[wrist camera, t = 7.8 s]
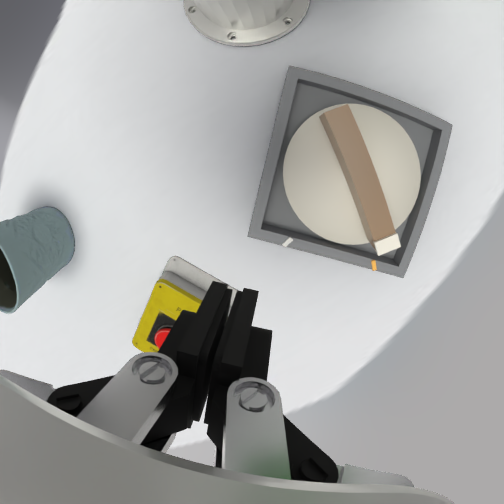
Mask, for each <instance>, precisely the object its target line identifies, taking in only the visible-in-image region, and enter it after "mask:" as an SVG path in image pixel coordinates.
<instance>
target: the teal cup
mask: <svg viewBox="0 0 504 504" xmlns="http://www.w3.org/2000/svg"><path fill="white" fill-rule="evenodd" d="M74 246H75V244H74V237H73V232H72V229H71V227H70V224H69V222H68V220H67V219H66V217H65V216H64V215H63V214H62V213H61V212H60V211H59V210H57V209H55V208H52V207H43V208H39V209H36V210H33V211H31V212H29V213H28V214H24V215H21V216H16V217H15V218H13V219H11V220H5V221H2V222H0V311H1V312H4V313H13V312H15V311H16V310H17V309H18V308H19V307H20V306H21V305H22V304H23V303H24V302H25V301H26V300H27V299H28V298H29V297H30V296H32V295H33V294H34V293H35V292H36V291H37V290H38V289H39V288H41V287H42V286H43V285H44V284H45V282H46V281H47V280H49V279H50V278H52V277H53V276H54V275H55V274H56V273H57V272H58V271H59V270H60V269H61V268H63V267H64V266H65V265H66V264H68V263H69V261H70V260H71V258H72V256H73V252H74Z"/></svg>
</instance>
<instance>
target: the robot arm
mask: <svg viewBox="0 0 504 504" xmlns="http://www.w3.org/2000/svg"><path fill="white" fill-rule="evenodd" d="M309 3H310V0H184V9H185V13H186V16H187V17H188V19H189V21H190V23H191V24H192V25H193V26H194V27H195V28H196V29H197V30H198V31H199V32H200V33H201V34H202V35H204V36H206V37H207V38H209V39H211V40H213V41H216V42H219V43H222V44H226V45H232V46H253V45H260V44H264V43H268V42H271V41H274V40H276V39H278V38H280V37H283V36H284V35H286V34H287V33H289V32H290V31H292V30H293V29H294V28H295V27H296V26H297V25H298V24H299V23H300V22H301V21H302V19H303V18H304V16H305V15H306V12H307V10H308V7H309ZM194 11H195V12H194ZM193 12H194V13H193ZM286 22H290V23H291V24H285V23H286ZM232 37H236V38H235V39H234V40H231V38H232ZM232 292H233V289H229V288H228V284H225V283H221V282H216V281H212V283H211V285H210V287H209V289H208V291H207V293H206V295H205V297H204V299H203V300H202V302H201V304H200V306H199V308H198V310H197V312H196V313H195V312H191V311H187V310H182V312H181V313H180V315H179V316H178V318H177V320H176V321H175V323H174V325H173V327H172V328H171V330H170V332H169V333H168V335H167V337H166V339H165V340H164V342H163V344H162V345H161V347H160V349H159V351H158V352H144V353H140V354H138V355H135V356H134V357H133V358H131V359H130V360H129V361H128V362H127V363H126V364H125V365H124V367H123V368H122V369H121V370H120V371H119V372H118V373H117V374H116V375H114V376H109V377H105V378H101V379H96V380H92V381H87V382H82V383H77V384H72V385H67V386H63V387H60V388H58V389H54V388H53V385H51V384H47V383H44V382H41V381H37V380H34V379H31V378H28V377H25V376H22V375H19V374H16V373H13V372H10V371H7V370H0V504H454V503H453V502H452V501H451V500H449V499H448V498H447V497H445V496H443V495H440V494H438V493H435V492H431V491H428V490H424V489H419V488H415V487H414V485H413V484H412V482H411V481H410V480H409V479H408V478H406V477H405V476H402V475H398V474H392V473H386V472H380V471H375V470H370V469H365V468H361V467H356V466H351V465H348V464H345V465H344V466H339V465H336V464H335V463H334V461H333V460H332V459H331V458H330V457H329V456H328V455H326V454H325V453H324V452H323V451H322V450H321V449H320V448H319V447H317V446H316V445H315V444H314V443H313V442H312V441H311V440H310V439H308V438H307V437H306V436H305V435H304V434H303V433H302V432H301V431H300V430H299V429H298V428H297V427H296V426H295V425H293V423H291V422H290V421H289V420H288V419H287V418H286V417H285V416H284V415H283V410H282V403H281V397H280V394H279V392H278V390H277V389H276V388H275V387H274V386H273V385H272V384H270V383H269V382H267V374H268V365H269V357H270V348H271V339H272V330H267V329H262V328H258V327H253V326H251V325H252V321H253V316H254V311H255V307H256V302H257V297H258V292H259V291H256V290H251V289H247V288H244V289H243V292H242V291H238V290H237V292H236V295H235V298H234V301H233V304H232V307H231V310H230V313H229V308H230V303H231V297H232ZM228 314H229V316H228ZM207 396H208V398H207ZM206 399H207V405H206V412H205V418H204V423H206V424H208V430H207V435H208V436H209V438H210V439H211V440H212V441H213V443H214V444H215V445H216V447H215V457H214V467H213V466H208V465H204V464H200V463H196V462H193V461H189V460H185V459H182V458H178V457H175V456H172V455H169V454H165V453H166V452H167V450H168V449H169V447H170V445H171V444H172V442H173V440H174V439H175V436H176V432H179V431H182V430H185V429H187V428H191V425H192V422H193V420H194V421H198V422H199V420H200V418H201V414H202V411H203V408H204V405H205V402H206Z"/></svg>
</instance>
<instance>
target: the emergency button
mask: <svg viewBox="0 0 504 504" xmlns="http://www.w3.org/2000/svg"><path fill="white" fill-rule="evenodd" d="M212 281H216V282H221V283H224V282H222V281H220V280H219V279H217V278H215V277H213V276H212V275H210V274H208V273H206V272H204V271H203V270H201V269H199V268H197V267H196V266H194V265H192V264H191V263H189V262H187V261H185V260H184V259H182V258H180V257H177V256H173V257H171V258H170V259H169V260H168V262H167V264H166V266H165V269H164V271H163V273H162V275H161V277H160V279H159V280H158V281H157V283H156V284H155V286H154V289H153V291H152V293H151V296H150V298H149V300H148V303H147V305H146V308H145V310H144V312H143V315H142V317H141V320H140V322H139V325H138V327H137V330H136V332H135V335H134V337H133V340H132V343H133V345H134V346H135V347H136V348H138V349H139V350H141V351H143V352H158V351H159V349H160V347H161V345H162V344H163V342H164V340H165V339H166V337H167V335H168V333H169V332H170V330H171V328H172V327H173V325H174V323H175V321H176V320H177V318H178V316H179V315H180V313H181V312H182V310H187V311H191V312H195V313H196V312H197V310H198V308H199V306H200V304H201V302H202V300H203V299H204V297H205V295H206V293H207V291H208V289H209V287H210V285H211V283H212ZM225 284H226V283H225ZM228 288H229V289H233V292H232V297H231V303H230V308H229V313H230V310H231V307H232V304H233V301H234V298H235V295H236V292H237V289H235V288H233V287H231V286H229V285H228ZM228 316H229V314H228Z"/></svg>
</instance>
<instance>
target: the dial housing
mask: <svg viewBox="0 0 504 504" xmlns="http://www.w3.org/2000/svg"><path fill="white" fill-rule="evenodd" d="M339 104H361V105H366V106H370V107H373V108H376V109H378V110H380V111H382V112H384V113H386V114H387V115H389V116H390V117H392V118H393V119H394V120H395V121H397V122H398V123H399V124H400V125H401V126H402V127H403V129H404V130H405V131H406V133H407V134H408V135H409V137H410V139H411V140H412V142H413V144H414V146H415V149H416V151H417V154H418V158H419V163H420V170H421V181H420V189H419V193H418V197H417V200H416V202H415V205H414V207H413V209H412V210H411V212H410V214H409V215H408V217H407V218H406V220H405V221H404V222H403V223H402V224H401V225H400V226H399V227H398V228H397V229H395V232H396V233H397V234H398V237H399V241H400V245H401V247H399V248H397V249H394V250H392V251H390V252H387V253H385V254H382V255H380V256H378V255H377V252H376V251H375V249H374V248H373V247H372V245H371V244H370V243H365V244H357V245H349V244H341V243H336V242H333V241H330V240H327V239H325V238H323V237H321V236H319V235H317V234H316V233H314V232H313V231H311V230H310V229H309V228H308V227H307V226H306V225H305V224H304V223H303V222H302V221H301V220H300V219H299V218H298V216H297V215H296V213H295V212H294V210H293V209H292V207H291V205H290V203H289V200H288V198H287V195H286V191H285V187H284V180H283V164H284V158H285V154H286V151H287V148H288V145H289V143H290V141H291V139H292V137H293V136H294V134H295V132H296V131H297V130H298V128H299V127H300V126H301V125H302V124H303V123H304V122H305V121H306V120H307V119H308V118H310V117H311V116H312V115H314V114H315V113H317V112H319V111H321V110H323V109H325V108H328V107H331V106H334V105H339ZM451 130H452V124H450V123H448V122H446V121H444V120H442V119H440V118H438V117H436V116H434V115H432V114H430V113H427V112H425V111H423V110H421V109H419V108H416V107H414V106H412V105H410V104H407V103H405V102H402V101H400V100H398V99H395V98H393V97H390V96H387V95H385V94H382V93H380V92H377V91H374V90H371V89H369V88H366V87H363V86H360V85H357V84H354V83H351V82H348V81H345V80H341V79H338V78H335V77H331V76H328V75H324V74H321V73H317V72H313V71H310V70H306V69H302V68H298V67H293V66H289V68H288V72H287V76H286V80H285V84H284V88H283V92H282V96H281V100H280V104H279V108H278V112H277V116H276V120H275V124H274V129H273V133H272V137H271V141H270V145H269V149H268V153H267V157H266V161H265V166H264V170H263V174H262V178H261V182H260V186H259V190H258V195H257V199H256V203H255V207H254V211H253V215H252V220H251V224H250V228H249V232H248V236H247V237H251V238H255V239H259V240H263V241H267V242H271V243H274V244H278V245H282V246H284V247H290V248H293V249H297V250H301V251H305V252H309V253H312V254H316V255H320V256H324V257H327V258H331V259H335V260H339V261H342V262H346V263H350V264H353V265H357V266H361V267H365V268H368V269H372V270H373V271H374V270H376V271H379V272H383V273H386V274H390V275H394V276H397V277H401V278H404V275H405V273H406V271H407V268H408V266H409V263H410V261H411V258H412V256H413V253H414V251H415V248H416V246H417V243H418V240H419V238H420V235H421V232H422V230H423V227H424V224H425V221H426V218H427V215H428V212H429V209H430V206H431V203H432V200H433V197H434V194H435V191H436V187H437V184H438V181H439V177H440V174H441V170H442V166H443V163H444V159H445V155H446V151H447V147H448V143H449V139H450V134H451Z"/></svg>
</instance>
